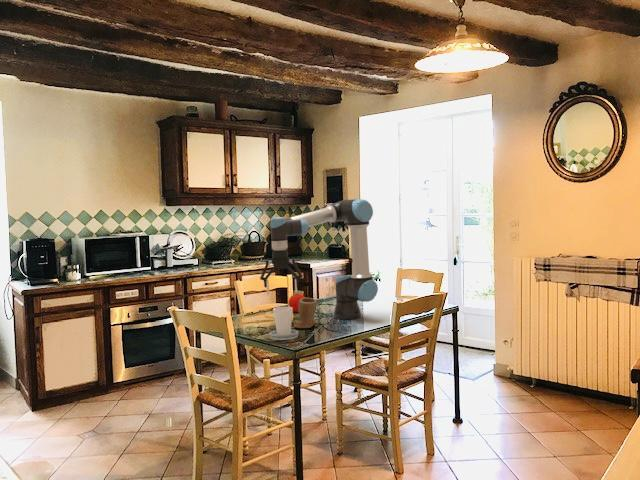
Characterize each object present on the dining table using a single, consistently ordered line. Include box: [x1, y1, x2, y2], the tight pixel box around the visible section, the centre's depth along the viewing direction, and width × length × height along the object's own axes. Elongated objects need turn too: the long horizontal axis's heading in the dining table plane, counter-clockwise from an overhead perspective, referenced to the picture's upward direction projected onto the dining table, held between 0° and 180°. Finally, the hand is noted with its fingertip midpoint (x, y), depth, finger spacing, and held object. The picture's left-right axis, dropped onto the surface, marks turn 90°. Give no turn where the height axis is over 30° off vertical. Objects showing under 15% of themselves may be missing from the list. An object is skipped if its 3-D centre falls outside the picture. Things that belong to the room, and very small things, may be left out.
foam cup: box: [272, 306, 294, 336], centre depth 274 cm, size 10×9×13 cm
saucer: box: [268, 328, 299, 341], centre depth 275 cm, size 14×14×2 cm
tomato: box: [288, 293, 306, 313], centre depth 334 cm, size 10×11×11 cm
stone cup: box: [293, 297, 318, 329], centre depth 294 cm, size 15×12×15 cm
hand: (282, 293), depth 273 cm, fingers open, 13 cm apart
